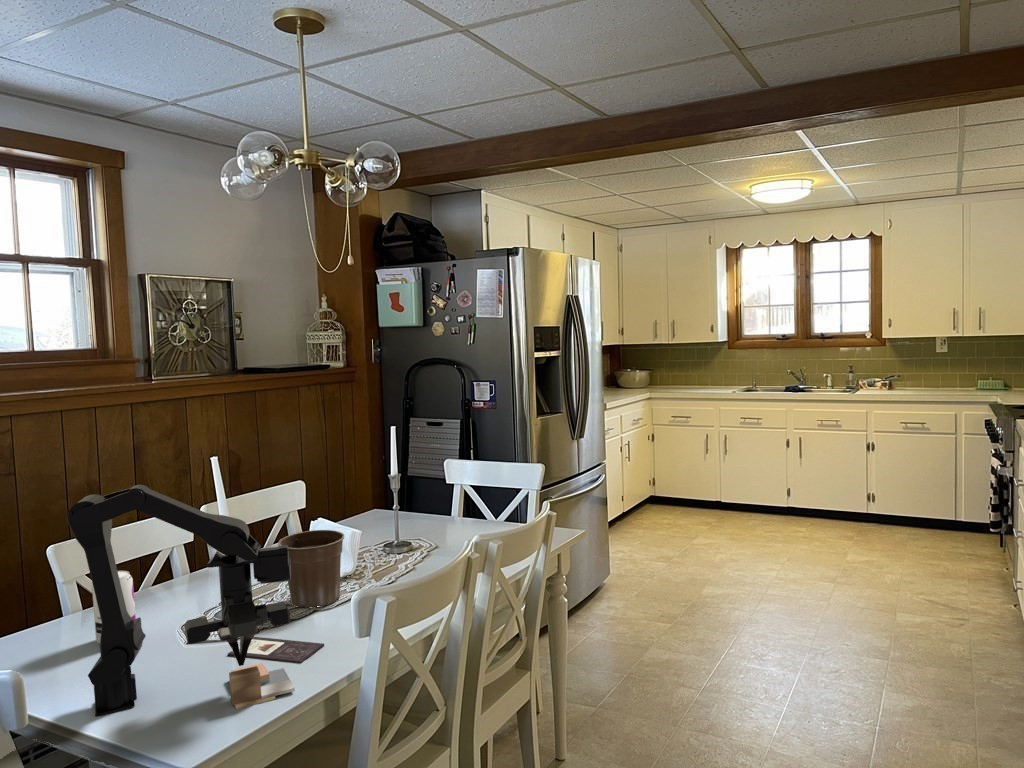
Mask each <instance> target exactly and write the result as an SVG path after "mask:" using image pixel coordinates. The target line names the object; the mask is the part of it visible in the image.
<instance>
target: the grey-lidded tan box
mask: <svg viewBox="0 0 1024 768" xmlns="http://www.w3.org/2000/svg"><path fill="white" fill-rule="evenodd" d="M228 675H229V676H228V677H229V689H230V690H229V692H230V700H231V703H232V705H233V706H235V705H236V704H240V703H244V702H248V701H252V700H256V699H260V698H262V699H265V698H269V697H273V696H275V697H276V696H279V695H284V694H288V693H292V692H295V691H296V690H295V685H294V683H292V680H291V679H290V680H286V681H282V682H278V683H274V684H270V685H266V686H262V687H261V682H260V671H259V669H258V667H257V666H255V667H251V668H247V669H242V670H238V671H234V672H231V671H230V672H228Z"/></svg>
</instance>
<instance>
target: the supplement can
mask: <svg viewBox="0 0 1024 768" xmlns="http://www.w3.org/2000/svg"><path fill="white" fill-rule="evenodd" d="M117 571H118V575H119V580H120V584H121V588H122V592H123V597H124V601H125V605H126V609H127V612H128V614H129V615H130V617H131V618H132V619H133V620H134V619H137V618H136V617H137V616H136V606H135V604H136V603H135V592H134V591H135V590H134V581H133V580H134V579H133V577H132V575H131V574H130V571H128V570H117ZM91 584H92V583H91ZM91 593H92V602H93V603H92V604H93V605H92V606H93V617H94V630H95V642H96V643H97V644H99V645H100V639H101V629H102V621H101V617H100V613H99V609H98V604H97V600H96V596H95V592H94V588H93V584H92V585H91Z"/></svg>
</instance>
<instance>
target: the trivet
mask: <svg viewBox="0 0 1024 768" xmlns="http://www.w3.org/2000/svg"><path fill="white" fill-rule="evenodd" d="M268 673H269V680H270V682H267V683H263V684H261V687H262V686H266V685H270V684H274V683H278V682H282V681H286V680H290V681H291V679H290V677H289V676H288V674H287V671H286V670H285V668H284V667H282V668H278V669H275V670H269V671H268Z"/></svg>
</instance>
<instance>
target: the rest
mask: <svg viewBox="0 0 1024 768" xmlns="http://www.w3.org/2000/svg"><path fill="white" fill-rule="evenodd" d="M272 700H276V696H273V697H269V698H265V699H262V698H260V699H256V700H252V701H248V702H244V703H240V704H236V705H234V707H235V709H236V710H237V709H241V707H242V708H245V707H249V706H253V705H257V704H260V703H265V702H269V701H272Z"/></svg>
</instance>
